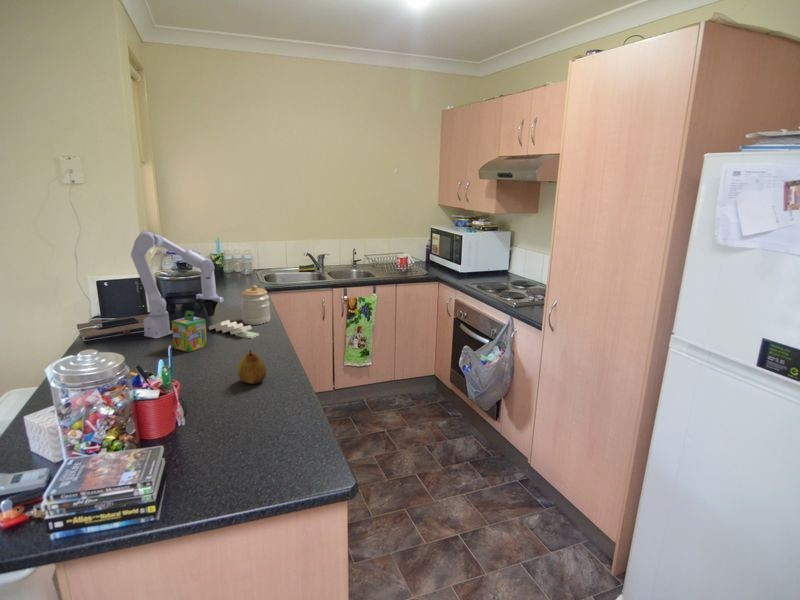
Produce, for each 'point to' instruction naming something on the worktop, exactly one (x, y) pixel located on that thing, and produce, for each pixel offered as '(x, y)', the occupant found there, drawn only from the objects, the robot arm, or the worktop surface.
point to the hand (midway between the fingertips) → (211, 315)
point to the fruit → (251, 369)
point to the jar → (255, 306)
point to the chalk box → (189, 333)
